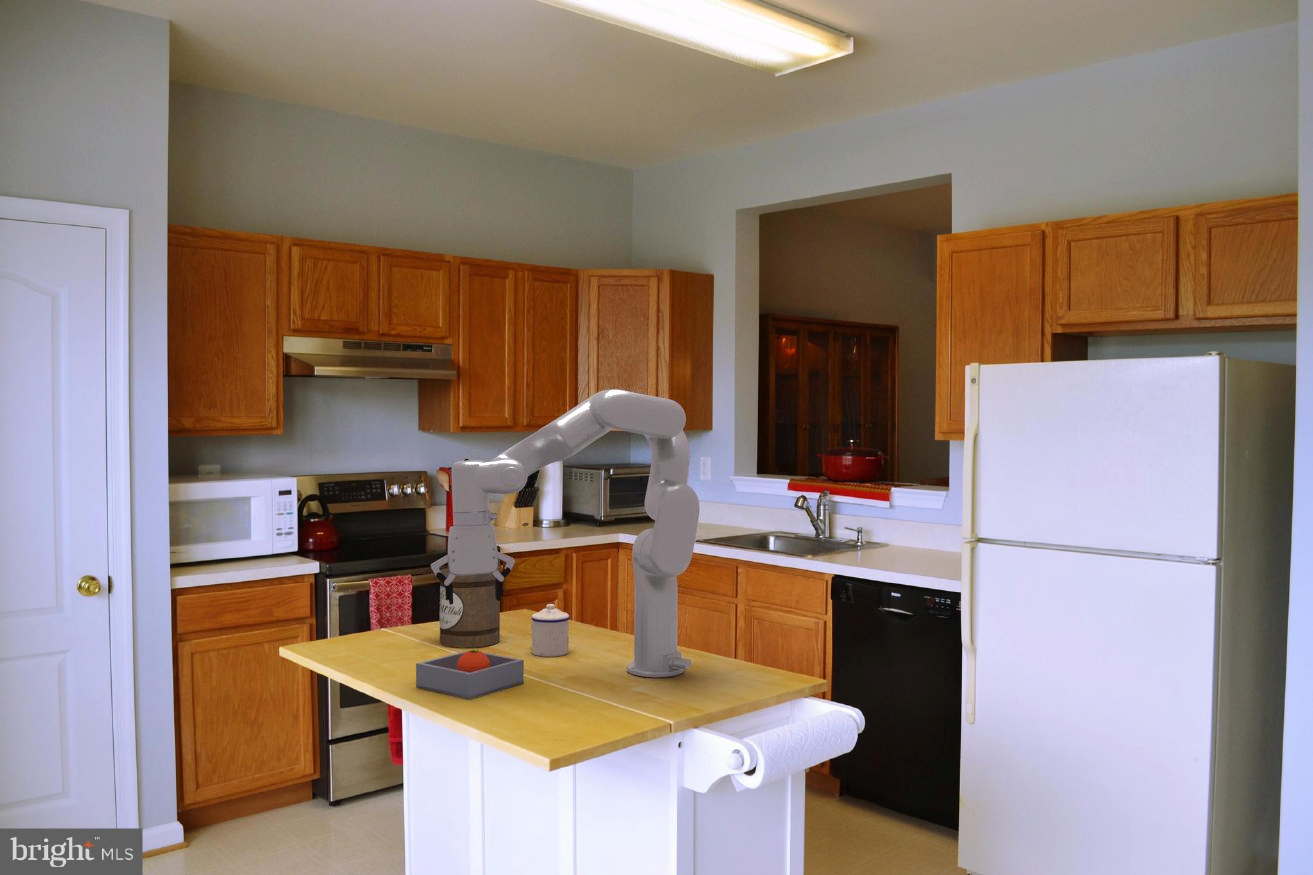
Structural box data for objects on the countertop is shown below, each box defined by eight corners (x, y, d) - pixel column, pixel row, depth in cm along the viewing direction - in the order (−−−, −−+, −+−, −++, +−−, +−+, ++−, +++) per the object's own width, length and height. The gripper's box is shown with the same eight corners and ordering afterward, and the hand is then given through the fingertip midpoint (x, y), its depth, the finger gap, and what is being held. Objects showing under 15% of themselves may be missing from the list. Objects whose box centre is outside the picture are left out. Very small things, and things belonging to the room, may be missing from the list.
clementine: (460, 678, 211) (460, 644, 211) (493, 678, 212) (493, 644, 211) (453, 688, 203) (453, 653, 203) (487, 688, 204) (488, 653, 203)
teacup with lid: (577, 653, 238) (577, 604, 238) (545, 659, 232) (545, 609, 232) (547, 645, 247) (548, 598, 247) (516, 650, 241) (517, 602, 241)
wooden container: (433, 638, 254) (434, 552, 254) (490, 634, 260) (491, 549, 260) (447, 650, 240) (447, 559, 240) (506, 645, 247) (507, 556, 246)
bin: (523, 683, 210) (523, 659, 210) (469, 699, 197) (469, 674, 197) (471, 672, 219) (471, 649, 219) (416, 687, 206) (416, 663, 206)
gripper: (511, 515, 213) (514, 595, 214) (428, 520, 209) (431, 601, 209) (515, 519, 206) (518, 601, 207) (429, 523, 202) (432, 608, 202)
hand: (474, 601), depth 208 cm, fingers open, 9 cm apart
